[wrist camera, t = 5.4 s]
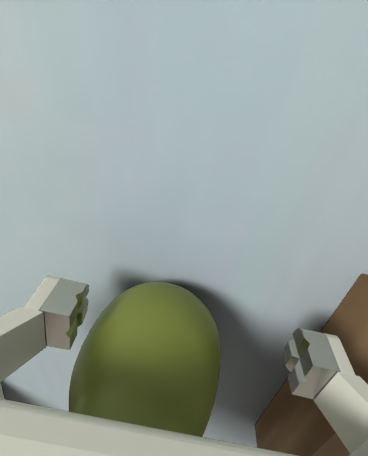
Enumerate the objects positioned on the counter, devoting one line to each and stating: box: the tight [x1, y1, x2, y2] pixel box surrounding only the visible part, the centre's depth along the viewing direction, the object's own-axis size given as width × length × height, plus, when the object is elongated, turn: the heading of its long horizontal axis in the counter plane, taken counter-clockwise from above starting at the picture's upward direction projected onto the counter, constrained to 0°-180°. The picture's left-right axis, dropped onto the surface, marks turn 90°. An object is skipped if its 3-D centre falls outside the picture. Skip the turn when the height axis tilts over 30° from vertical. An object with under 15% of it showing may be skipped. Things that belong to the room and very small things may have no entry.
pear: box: [69, 282, 221, 437], centre depth 10 cm, size 6×5×10 cm
